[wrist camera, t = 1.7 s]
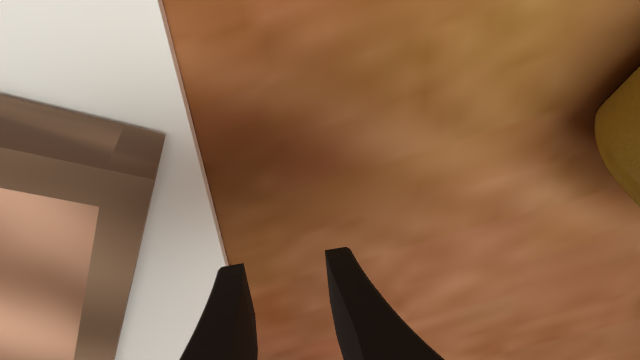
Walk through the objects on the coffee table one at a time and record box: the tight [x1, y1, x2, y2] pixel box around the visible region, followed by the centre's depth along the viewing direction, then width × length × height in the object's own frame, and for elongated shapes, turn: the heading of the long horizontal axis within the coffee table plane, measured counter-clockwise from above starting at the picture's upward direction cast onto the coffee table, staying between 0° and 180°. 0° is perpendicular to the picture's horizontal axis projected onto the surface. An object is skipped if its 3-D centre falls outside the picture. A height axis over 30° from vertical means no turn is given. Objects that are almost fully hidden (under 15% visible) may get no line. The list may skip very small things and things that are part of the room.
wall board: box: [0, 0, 229, 360], centre depth 21 cm, size 21×18×1 cm
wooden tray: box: [0, 95, 166, 360], centre depth 19 cm, size 15×9×4 cm, turn 160°
